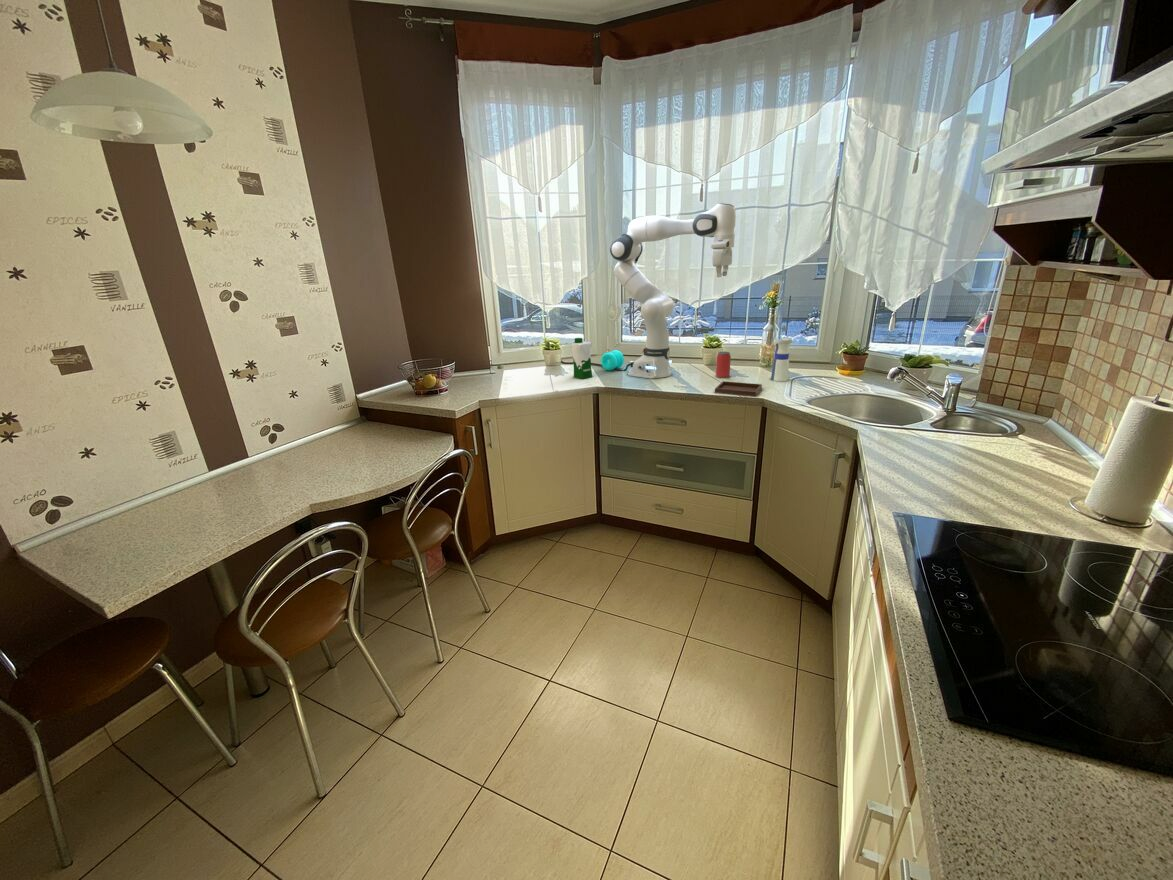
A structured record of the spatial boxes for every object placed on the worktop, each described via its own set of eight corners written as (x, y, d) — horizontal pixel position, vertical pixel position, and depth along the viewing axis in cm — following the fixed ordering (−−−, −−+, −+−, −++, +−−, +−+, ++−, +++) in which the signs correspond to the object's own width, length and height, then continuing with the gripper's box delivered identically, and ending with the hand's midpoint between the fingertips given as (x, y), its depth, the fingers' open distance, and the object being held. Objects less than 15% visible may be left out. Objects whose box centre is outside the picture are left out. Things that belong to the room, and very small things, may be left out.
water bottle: (766, 377, 232) (771, 325, 223) (783, 376, 233) (788, 324, 224) (774, 382, 224) (779, 328, 215) (791, 380, 225) (797, 327, 216)
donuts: (625, 368, 265) (625, 350, 261) (615, 372, 258) (614, 353, 254) (610, 366, 271) (610, 348, 267) (600, 370, 264) (599, 352, 260)
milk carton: (583, 374, 257) (581, 336, 249) (595, 376, 250) (593, 338, 243) (571, 377, 251) (569, 339, 244) (582, 379, 245) (580, 340, 238)
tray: (714, 392, 212) (714, 388, 212) (722, 385, 223) (722, 381, 223) (755, 396, 204) (755, 392, 203) (761, 388, 215) (762, 384, 214)
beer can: (730, 378, 235) (731, 353, 230) (716, 378, 236) (717, 354, 232) (729, 374, 241) (730, 351, 236) (715, 374, 242) (716, 351, 238)
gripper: (722, 243, 221) (720, 275, 226) (710, 244, 204) (708, 278, 209) (736, 243, 218) (734, 275, 223) (725, 243, 201) (723, 277, 206)
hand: (721, 276), depth 216 cm, fingers open, 8 cm apart
